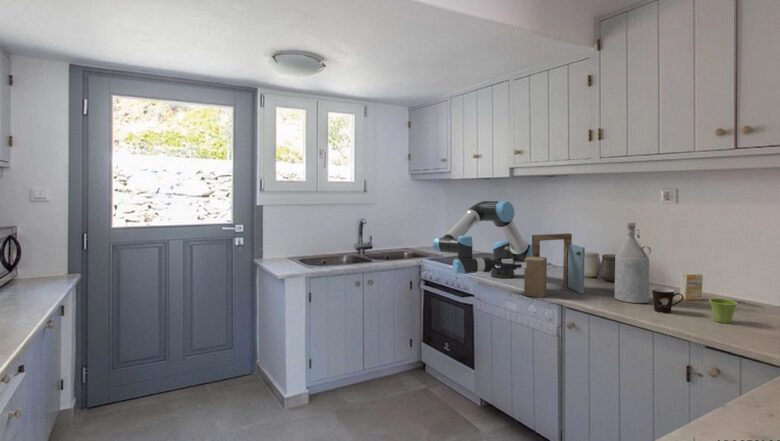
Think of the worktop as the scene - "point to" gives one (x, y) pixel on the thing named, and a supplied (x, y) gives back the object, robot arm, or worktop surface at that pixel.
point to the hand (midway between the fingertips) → (519, 263)
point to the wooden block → (535, 276)
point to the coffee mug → (664, 299)
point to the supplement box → (691, 286)
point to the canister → (632, 270)
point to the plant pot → (722, 310)
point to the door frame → (566, 237)
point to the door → (576, 268)
